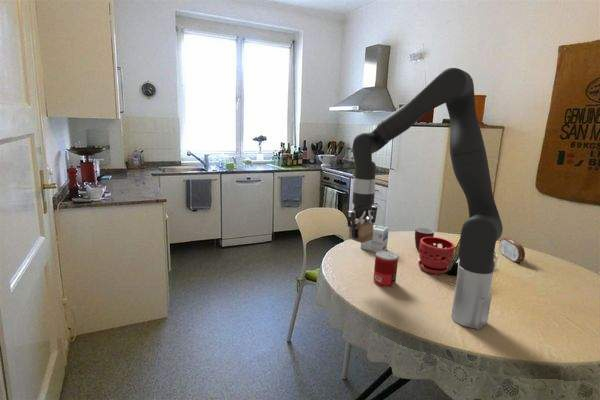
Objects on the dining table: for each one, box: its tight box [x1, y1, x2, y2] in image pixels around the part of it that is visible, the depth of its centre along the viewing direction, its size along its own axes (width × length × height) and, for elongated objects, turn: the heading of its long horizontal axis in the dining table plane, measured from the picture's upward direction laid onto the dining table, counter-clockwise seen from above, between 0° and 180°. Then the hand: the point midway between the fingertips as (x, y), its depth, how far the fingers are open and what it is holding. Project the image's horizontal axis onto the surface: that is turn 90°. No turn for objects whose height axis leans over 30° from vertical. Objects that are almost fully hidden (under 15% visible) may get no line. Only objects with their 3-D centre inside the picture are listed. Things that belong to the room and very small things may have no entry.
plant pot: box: [417, 236, 456, 275], centre depth 143 cm, size 13×13×12 cm
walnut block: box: [348, 219, 375, 244], centre depth 128 cm, size 6×6×6 cm
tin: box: [498, 237, 526, 263], centre depth 158 cm, size 15×3×8 cm, turn 2°
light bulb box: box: [360, 224, 389, 253], centre depth 163 cm, size 11×7×11 cm, turn 58°
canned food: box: [373, 250, 399, 288], centre depth 130 cm, size 8×8×11 cm
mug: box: [414, 227, 435, 252], centre depth 164 cm, size 10×8×10 cm
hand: (360, 236), depth 128 cm, fingers closed on walnut block, 6 cm apart
